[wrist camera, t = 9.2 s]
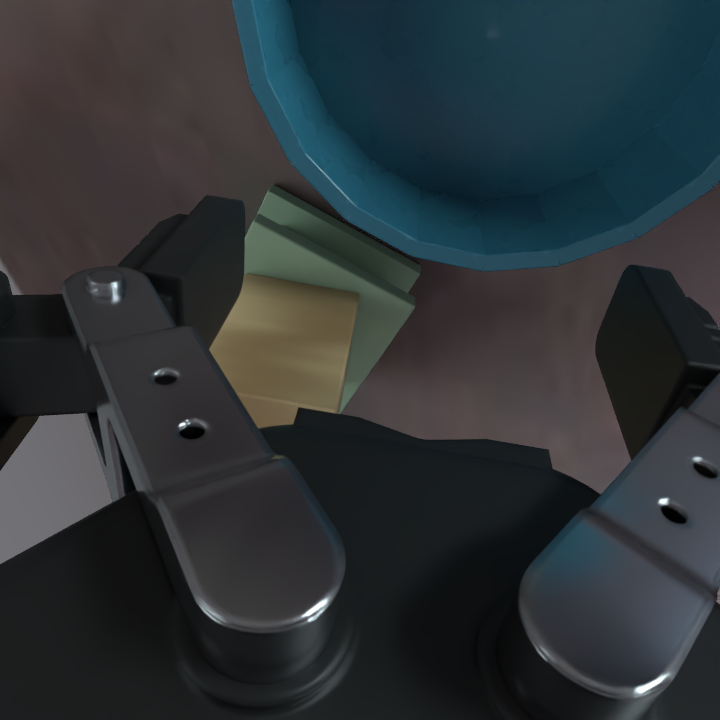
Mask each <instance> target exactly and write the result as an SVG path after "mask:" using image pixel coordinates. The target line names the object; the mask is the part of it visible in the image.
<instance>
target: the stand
mask: <svg viewBox="0 0 720 720" xmlns="http://www.w3.org/2000/svg"><path fill="white" fill-rule="evenodd" d="M247 273H248V274H254V275H259V276H265V277H270V278H276V279H282V280H287V281H293V282H298V283H304V284H310V285H315V286H321V287H327V288H332V289H338V290H343V291H349V292H355V293H359V295H360V298H359V304H358V310H357V316H356V322H355V327H354V333H353V339H352V345H351V351H350V357H349V363H348V369H347V375H346V381H345V386H344V391H343V397H342V402H341V407H340V412H339V414H341V412H342V411H343V409H344V408H345V407H346V405H347V404H348V402H349V401H350V399H351V398H352V397H353V395H354V394H355V392H356V391H357V389H358V388H359V387H360V385H361V384H362V382H363V381H364V380H365V378H366V377H367V375H368V374H369V372H370V371H371V370H372V368H373V367H374V365H375V364H376V363H377V361H378V360H379V358H380V357H381V355H382V354H383V353H384V351H385V350H386V348H387V347H388V346H389V344H390V343H391V341H392V340H393V338H394V337H395V336H396V334H397V333H398V331H399V330H400V329H401V327H402V326H403V324H404V323H405V321H406V320H407V319H408V317H409V316H410V314H411V313H412V312H413V310H414V309H415V304H416V298H415V297H414V296H412V295H410V294H408V292H409V290H410V289H411V287H412V286H413V284H414V283H415V282H416V280H417V279H418V277H419V276H420V274H421V266H420V265H419V264H417V263H415V262H413V261H412V260H410V259H408V258H406V257H404V256H402V255H401V254H399V253H397V252H395V251H393V250H392V249H390V248H388V247H386V246H384V245H382V244H381V243H379V242H377V241H375V240H373V239H371V238H370V237H368V236H366V235H364V234H362V233H361V232H359V231H357V230H355V229H353V228H351V227H350V226H348V225H346V224H344V223H342V222H341V221H339V220H337V219H335V218H333V217H331V216H330V215H328V214H326V213H324V212H322V211H321V210H319V209H317V208H315V207H313V206H311V205H310V204H308V203H306V202H304V201H302V200H301V199H299V198H297V197H295V196H293V195H291V194H290V193H288V192H286V191H284V190H282V189H280V188H279V187H277V186H275V185H273V184H272V185H271V187H270V188H269V190H268V191H267V194H266V196H265V198H264V200H263V202H262V204H261V207H260V209H259V211H258V213H257V215H256V217H255V218H254V220H253V221H252V224H251V226H250V228H249V230H248V232H247V234H246V236H245V260H244V276H245V274H247Z"/></svg>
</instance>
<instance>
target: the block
mask: <svg viewBox="0 0 720 720" xmlns="http://www.w3.org/2000/svg"><path fill="white" fill-rule="evenodd" d="M359 298H360V295H359V293H355V292H349V291H343V290H338V289H332V288H327V287H321V286H315V285H310V284H304V283H298V282H293V281H287V280H282V279H276V278H270V277H265V276H259V275H254V274H248V273H247V274H245V276H244V279H243V285H242V289H241V292H240V295H239V297H238V299H237V301H236V303H235V304H234V306H233V308H232V310H231V312H230V313H229V315H228V317H227V319H226V320H225V322H224V324H223V326H222V327H221V329H220V331H219V333H218V334H217V336H216V338H215V340H214V342H213V343H212V345H211V347H210V349H209V350H210V352H211V354H212V355H213V357H214V358H215V360H216V362H217V363H218V365H219V366H220V368H221V370H222V371H223V373H224V374H225V376H226V378H227V379H228V381H229V382H230V384H231V386H232V387H233V389H234V390H235V392H236V394H237V395H238V397H239V398H240V400H241V402H242V403H243V405H244V406H245V408H246V410H247V411H248V413H249V414H250V416H251V418H252V419H253V421H254V422H255V424H256V426H257V427H258V428H263V427H268V426H276V425H288V424H293V423H294V420H295V417H296V414H297V410H298V407H300V408H306V409H312V410H318V411H324V412H330V413H336V414H339V412H340V407H341V402H342V397H343V391H344V386H345V381H346V375H347V369H348V363H349V357H350V351H351V345H352V339H353V333H354V327H355V322H356V316H357V310H358V304H359Z"/></svg>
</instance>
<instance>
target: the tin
mask: <svg viewBox="0 0 720 720" xmlns="http://www.w3.org/2000/svg"><path fill="white" fill-rule="evenodd" d="M231 2H232V7H233V11H234V16H235V21H236V25H237V30H238V34H239V39H240V44H241V48H242V53H243V58H244V62H245V67H246V71H247V76H248V81H249V84H250V85H251V86H250V88H251V90H252V92H253V94H254V96H255V98H256V100H257V102H258V103H259V105H260V107H261V109H262V111H263V113H264V115H265V117H266V119H267V121H268V122H269V124H270V126H271V128H272V130H273V132H274V134H275V136H276V138H277V139H278V141H279V143H280V145H281V147H282V149H283V151H284V153H285V155H286V157H287V158H288V160H289V162H290V163H292V166H293V167H294V168H295V169H296V170H297V171H298V172H299V173H300V174H301V175H302V176H303V177H304V178H305V179H306V180H307V181H308V182H309V183H310V184H311V185H312V186H313V187H314V188H315V189H316V190H317V191H318V193H319V194H320V195H321V196H322V197H323V198H324V199H325V200H326V201H327V202H328V203H329V204H330V205H331V206H332V207H333V208H334V209H335V210H336V211H337V212H338V213H339V214H340V215H341V216H342V217H343V218H344V219H345V220H346V219H347V221H348V222H349V223H351V224H353V225H355V226H357V227H359V228H360V229H362V230H364V231H366V232H368V233H369V234H371V235H373V236H375V237H377V238H379V239H380V240H382V241H384V242H386V243H388V244H389V245H391V246H393V247H395V248H397V249H398V250H400V251H402V252H404V253H406V254H408V255H411V256H412V257H416V258H421V259H425V260H430V261H435V262H439V263H444V264H449V265H454V266H458V267H463V268H468V269H472V270H477V271H484V272H487V271H501V270H514V269H528V268H541V267H555V266H559V265H563V264H566V263H569V262H572V261H575V260H577V259H580V258H583V257H586V256H589V255H592V254H594V253H597V252H600V251H603V250H606V249H609V248H611V247H614V246H617V245H620V244H623V243H626V242H628V241H631V240H634V239H636V237H637V238H639V237H641V236H642V235H644V234H645V233H647V232H648V231H650V230H651V229H653V228H654V227H656V226H657V225H659V224H660V223H662V222H663V221H665V220H666V219H668V218H669V217H671V216H672V215H674V214H675V213H677V212H678V211H680V210H681V209H683V208H684V207H686V206H687V205H689V204H690V203H692V202H693V201H695V200H696V199H698V198H699V197H701V196H702V195H704V194H705V193H707V192H708V191H710V190H711V189H713V186H716V185H717V184H718V183H719V182H720V0H231Z"/></svg>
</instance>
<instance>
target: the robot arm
mask: <svg viewBox="0 0 720 720" xmlns="http://www.w3.org/2000/svg"><path fill="white" fill-rule="evenodd" d="M244 260H245V208H244V204H243V202H242V201H241V200H235V199H228V198H222V197H216V196H210V195H206V196H205V197H204V198H203V199H202V200H201V201H200V202H199V204H198V205H197V206H196V207H195V208H194V209H193V210H192V211H191V212H190V214H189V215H184V214H177V215H175V216H173V217H170V218H168V219H165V220H163V221H161V222H159V223H158V224H157V225H156V226H155V227H154V228H153V229H152V230H151V231H150V233H149V235H147V236H146V237H145V238H144V239H143V240H142V241H141V242H140V245H137V246H136V247H135V248H134V249H133V250H132V251H131V252H130V253H129V254H128V255H127V256H126V257H125V258H124V259H123V260H122V261H121V262H120V263H119V264H118V265H117V266H102V267H94V268H89V269H86V270H82V271H80V272H77V273H75V274H73V275H71V276H70V277H69V278H67V279H66V280H65V281H64V283H63V285H62V288H61V290H62V294H54V295H12V292H11V288H10V284H9V280H8V277H7V276H6V274H4V273H3V272H2V271H0V470H1V469H2V468H3V466H4V465H5V463H6V462H7V461H8V459H9V458H10V457H11V455H12V454H13V453H14V451H15V450H16V448H17V447H18V446H19V444H20V443H21V442H22V440H23V439H24V437H25V436H26V435H27V433H28V432H29V431H30V429H31V428H32V426H33V425H34V424H35V422H36V421H37V419H38V417H39V416H43V415H59V414H60V415H61V414H79V413H85V417H86V421H87V424H88V427H89V430H90V433H91V436H92V439H93V442H94V445H95V448H96V451H97V454H98V457H99V460H100V463H101V466H102V469H103V472H104V475H105V478H106V480H107V484H108V487H109V490H110V494H111V498H112V503H111V504H109V505H107V506H105V507H103V508H102V509H100V510H98V511H96V512H94V513H93V514H91V515H89V516H87V517H85V518H83V519H82V520H80V521H78V522H76V523H74V524H72V525H71V526H69V527H67V528H65V529H63V530H62V531H60V532H58V533H57V534H54V535H53V536H51V537H49V538H47V539H45V540H44V541H42V542H40V543H38V544H36V545H34V546H33V547H31V548H29V549H27V550H25V551H24V552H22V553H20V554H18V555H16V556H15V557H13V558H11V559H9V560H7V561H6V562H4V563H2V564H0V720H720V604H718V603H717V602H716V600H717V592H718V590H719V588H720V330H718V326H717V324H716V323H715V321H714V320H713V318H712V317H711V315H710V314H709V312H707V311H706V310H705V309H704V308H702V307H701V306H700V305H698V304H697V303H696V302H695V301H693V300H692V299H691V298H689V297H686V296H685V294H684V293H683V291H682V290H681V288H680V286H679V285H678V283H677V282H676V280H675V279H674V277H673V275H672V274H671V272H670V271H668V270H663V269H657V268H651V267H645V266H638V265H629V266H628V267H627V268H626V269H625V270H624V272H623V274H622V276H621V278H620V280H619V283H618V285H617V287H616V290H615V292H614V295H613V297H612V299H611V302H610V304H609V307H608V309H607V311H606V314H605V316H604V319H603V321H602V324H601V326H600V328H599V331H598V335H597V339H596V349H595V350H596V358H597V361H598V364H599V367H600V370H601V373H602V376H603V379H604V382H605V385H606V388H607V391H608V394H609V396H610V399H611V402H612V405H613V408H614V411H615V414H616V417H617V420H618V423H619V426H620V429H621V432H622V435H623V438H624V441H625V444H626V447H627V449H628V452H629V455H630V458H631V462H630V463H629V464H628V465H627V466H626V467H625V469H624V470H623V471H622V472H621V473H620V474H619V475H618V476H617V477H616V479H615V480H614V481H613V482H612V483H611V484H610V485H609V486H608V487H607V489H606V490H605V491H604V492H603V493H602V494H599V493H598V492H596V491H595V490H593V489H592V488H590V487H589V486H587V485H585V484H583V483H582V482H580V481H578V480H576V479H574V478H572V477H570V476H568V475H566V474H563V473H561V472H559V471H556V470H554V469H552V464H551V459H550V454H549V450H547V449H541V448H535V447H530V446H524V445H518V444H512V443H506V442H500V441H494V440H488V439H465V440H423V439H419V438H415V437H412V436H410V435H407V434H404V433H401V432H398V431H396V430H393V429H390V428H387V427H384V426H382V425H379V424H376V423H373V422H371V421H368V420H365V419H362V418H359V417H353V416H347V415H342V414H336V413H330V412H324V411H318V410H312V409H306V408H300V407H298V410H297V414H296V417H295V420H294V423H293V424H288V425H276V426H268V427H263V428H258V427H257V426H256V424H255V422H254V421H253V419H252V418H251V416H250V414H249V413H248V411H247V410H246V408H245V406H244V405H243V403H242V402H241V400H240V398H239V397H238V395H237V394H236V392H235V390H234V389H233V387H232V386H231V384H230V382H229V381H228V379H227V378H226V376H225V374H224V373H223V371H222V370H221V368H220V366H219V365H218V363H217V362H216V360H215V358H214V357H213V355H212V354H211V352H210V350H209V349H210V347H211V345H212V343H213V342H214V340H215V338H216V336H217V334H218V333H219V331H220V329H221V327H222V326H223V324H224V322H225V320H226V319H227V317H228V315H229V313H230V312H231V310H232V308H233V306H234V304H235V303H236V301H237V299H238V297H239V295H240V292H241V289H242V285H243V279H244Z"/></svg>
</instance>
